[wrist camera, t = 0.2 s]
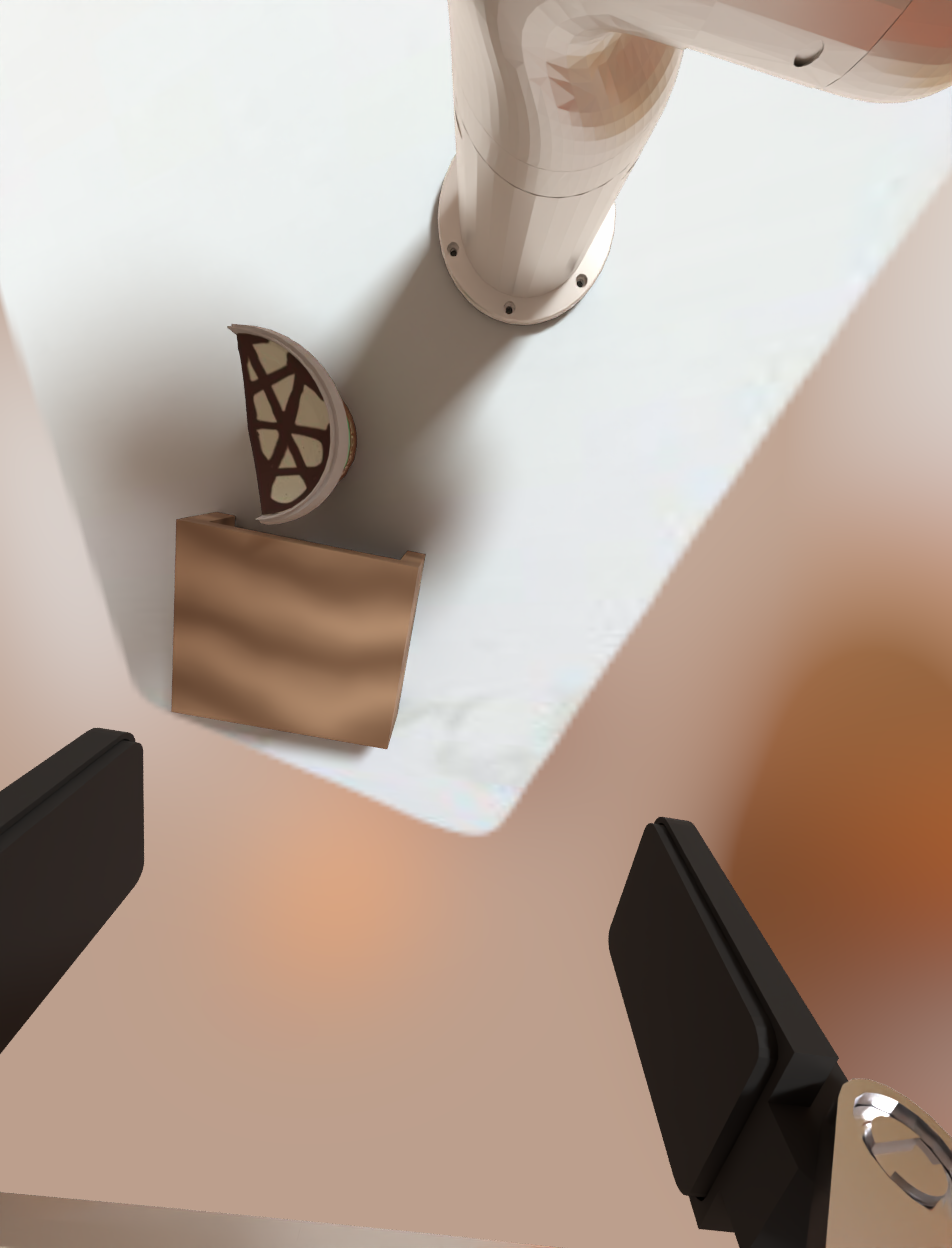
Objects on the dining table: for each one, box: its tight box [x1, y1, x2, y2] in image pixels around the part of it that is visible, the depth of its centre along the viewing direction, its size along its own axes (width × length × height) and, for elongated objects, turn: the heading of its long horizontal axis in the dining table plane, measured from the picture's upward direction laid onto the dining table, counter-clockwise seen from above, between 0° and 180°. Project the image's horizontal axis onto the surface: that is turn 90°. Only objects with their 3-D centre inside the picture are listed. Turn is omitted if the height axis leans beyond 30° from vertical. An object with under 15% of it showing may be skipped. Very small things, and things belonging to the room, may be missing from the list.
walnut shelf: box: [172, 512, 426, 749], centre depth 43 cm, size 16×18×6 cm
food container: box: [227, 324, 357, 525], centre depth 36 cm, size 12×6×10 cm, turn 1°
